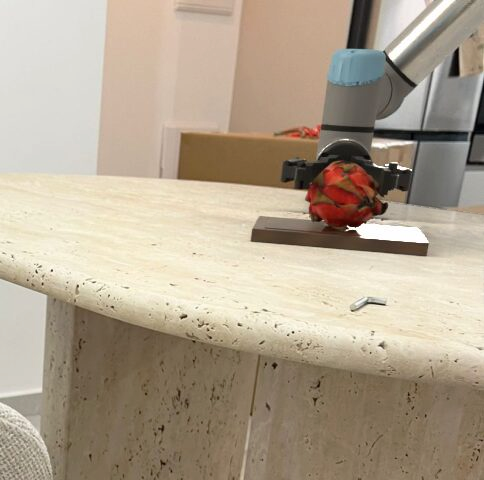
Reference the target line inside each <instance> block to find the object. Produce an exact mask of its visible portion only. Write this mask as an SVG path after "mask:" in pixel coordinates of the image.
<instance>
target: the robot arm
mask: <svg viewBox="0 0 484 480" xmlns="http://www.w3.org/2000/svg"><path fill="white" fill-rule="evenodd" d="M483 25H484V0H432V1H431V2H430V3H429V4H428V5H427V6H426V7H425V8H424V9H423V10H422V11H421V12H420V13H419V14H418V15H417V16H416V17H415V18H414V19H413V20H412V21H411V22H410V23H408V25H407V26H406V27H405V28H404V29H403V30H402V31H401V32H400V33H399V34H398V35H397V36H396V37H395V38H394V39H393V40H392V41H391V42H390V43H389V44H388V45H387V46H386V47H385V48H384V50H379V49H367V48H364V49H363V48H339V49H337V50H335V51H334V52H333V54H332V55H331V59H330V64H329V69H328V72H327V75H326V80H327V81H326V82H327V83H326V88H325V96H324V103H323V110H322V117H321V125H320V129H319V137H318V143H317V150H316V154H315V160H314V161H308V160H307V159H306V158H301V157H300V156H295V157H293V158H292V159H288V160H287V159H286V160H283V161H282V164H281V170H280V171H281V172H280V173H281V174H280V179H279V181H280V182H281V183H283V184H287V183H290V182H294V183H293V189H294V190H299V191H300V190H307V191H308V190H309V187H310V184H312V181H313V180H314V179H315V178H316V177H317V176H318V175H319V174H320V173H321V172H322V171H323V170H324V169H325V168H326V167H328V166H329V165H330V164H331V163H333V162H336V161H343V160H344V161H345V162H343V163H344V164H348V165H349V164H352V163H355V164H357V165H359V166H360V167H362V168H363V169H364V170H365V171H366V173H367V174H368V175H370V176H372V178H373V179H374V180H375V181H376V182H377V183H378V184H379V187H378V189H379V193H380V195H384V196H389V195H388V194H389V192H391V191H394V190H398V191H401V192H408V191H410V186H411V180H412V176H413V169H410V168H407V167H402V166H400V163H399V162H391V161H390V162H388V164H384V166H381V165H377V164H375V163H374V161H373V159H372V156H371V151H372V144H373V140H374V133H375V126H376V121H381V120H384V119H386V118H389V117H390V116H393V115H394V114H395V113H396V112H397V111H398V110H399V109H400V108H401V107H402V105H403V103H404V101H405V99H406V97H408V96H409V95H410V94H411V93H412V92H414V90H415V89H416V88H417V87H418V86H419V84H421V83H422V82H423V81H424V80H425V79H426V78H427V77H428V76H430V74H431V73H432V72H433V71H434V70H436V69H437V68H438V67H439V66H440V65H441V64H442V63H443V62H444V61H445V60H446V59H447V58H448V57H450V56H451V55H452V54H453V53H454V52H455V51H456V50H457V49H458V48H459V47H460V46H461V45H462V44H463V43H464V42H465V41H467V40H468V39H469V38H470V37H471V36H472V35H473V34H474V33H475V32H476V31H477V30H479V28H481V26H483ZM380 195H379V196H380Z"/></svg>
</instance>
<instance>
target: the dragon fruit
mask: <svg viewBox="0 0 484 480" xmlns="http://www.w3.org/2000/svg"><path fill="white" fill-rule="evenodd" d="M343 162H345V161H344V160H343V161H336V162H333V163H331V164H330V165H329V166H328V167H326V168H325V169H324V170H323V171H322V172H321V173H320V174H319V175H318V176H317V177H316V178H315V179H314V180H313V181H312V183H310V187H309V190H307V192H306V195H305V198H304V200H305V202H307V203H309V206H308V213H309V218H310V220H312V222H314V221H315V222H316V221H317V222H320V221H324V222H325V223H326V224H328V225H330V226H331V227H332V228H333V229H336V230H340V231H341V230H350V229H349V228H348V227H347V226H349V227H351V228H358V227H360V226H362V225H363V224H367V222H368V221H370V220H372V219H373V218H374V217H377V216H382V215H384V214H386V212H387V210H388V208H389V202H386V201H385V202H383V201H382V200H381V199H380V198H378V197H377V196H378V195H379V196H380V197H381V198H385V195H380V193H379V189H378V187H379V184H378V183H377V182H376V181H375V180H374V179H373V178H372V176H370V175H368V174H367V173H366V171H365V170H364V169H363V168H362V167H360V166H359V165H357V164H355V163H352V164H349V165H348V164H344V163H343Z"/></svg>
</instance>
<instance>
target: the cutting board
mask: <svg viewBox="0 0 484 480" xmlns="http://www.w3.org/2000/svg"><path fill="white" fill-rule="evenodd" d="M347 227H348V228H349V229H350V230H341V231H340V230H336V229H333V228H332V227H331V226H330V225H328V224H326V223H325V222H324V220H322V221H320V222H317V221H316V222H315V221H314V222H312V220H311V219H304V218H292V217H278V216H267V215H259V216H258V218H257V220H256V221H255V223H254V225H253V226H252V229H251V234H250V235H251V236H250V242H257V243H267V244H268V243H269V244H283V245H292V246H293V245H294V246H302V247H303V246H305V247H316V248H317V247H318V248H327V249H328V248H329V249H339V250H349V251H351V250H352V251H361V252H362V251H364V252H375V253H388V254H399V255H409V256H410V255H412V256H422V257H427V256H428V251H429V246H430V242H429V241H428V240H427V238H426V237H425V235H424V234H423V233H422V231H421V230H420V229H419V228H418V227H408V226H407V227H406V226H396V225H395V226H394V225H381V224H367V223H366V224H363V225H362V226H360V227H358V228H351V227H349V226H347Z"/></svg>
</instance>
